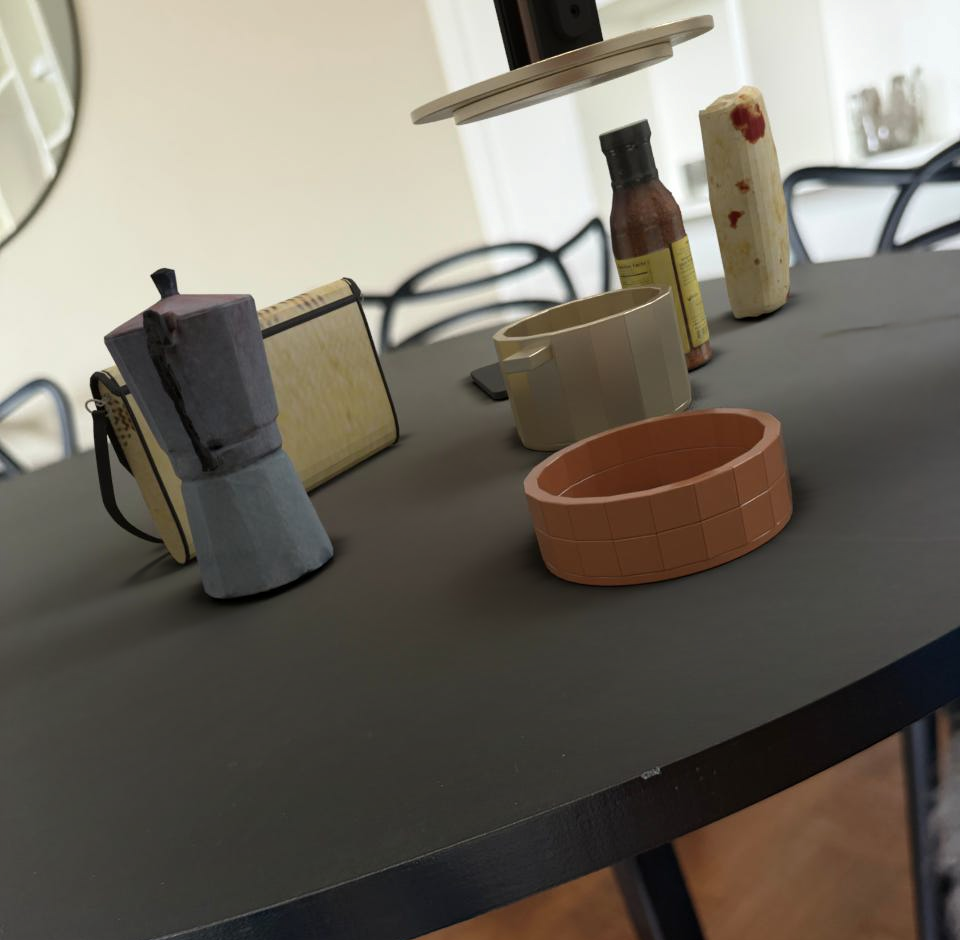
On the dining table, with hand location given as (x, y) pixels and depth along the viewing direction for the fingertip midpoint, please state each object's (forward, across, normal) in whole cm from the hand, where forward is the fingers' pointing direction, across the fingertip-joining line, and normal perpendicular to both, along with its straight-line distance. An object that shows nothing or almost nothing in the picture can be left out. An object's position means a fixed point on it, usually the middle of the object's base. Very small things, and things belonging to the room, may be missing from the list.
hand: (556, 62), depth 49 cm
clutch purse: (+24, +36, +14) cm, 45 cm away
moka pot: (+24, +17, +19) cm, 35 cm away
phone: (+24, +48, -14) cm, 56 cm away
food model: (+24, +37, -37) cm, 58 cm away
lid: (+1, 0, 0) cm, 1 cm away
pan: (+23, -3, +1) cm, 24 cm away
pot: (+23, +22, -10) cm, 34 cm away
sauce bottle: (+24, +29, -21) cm, 43 cm away
